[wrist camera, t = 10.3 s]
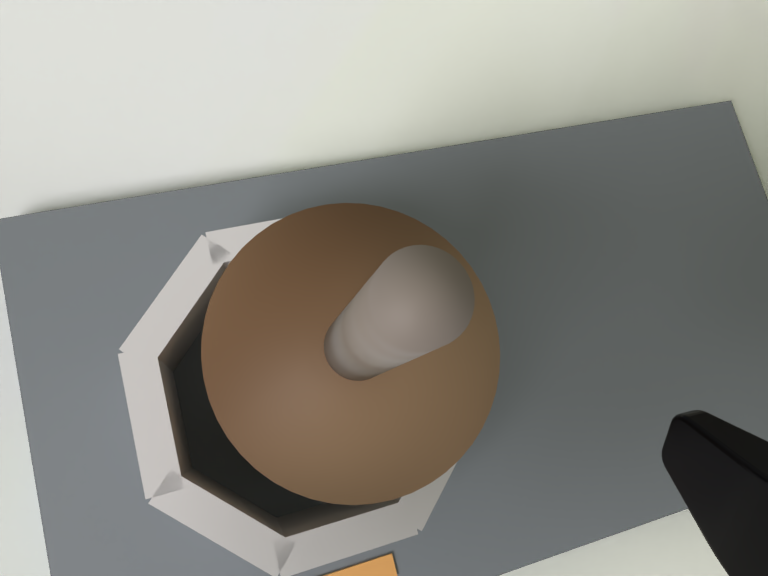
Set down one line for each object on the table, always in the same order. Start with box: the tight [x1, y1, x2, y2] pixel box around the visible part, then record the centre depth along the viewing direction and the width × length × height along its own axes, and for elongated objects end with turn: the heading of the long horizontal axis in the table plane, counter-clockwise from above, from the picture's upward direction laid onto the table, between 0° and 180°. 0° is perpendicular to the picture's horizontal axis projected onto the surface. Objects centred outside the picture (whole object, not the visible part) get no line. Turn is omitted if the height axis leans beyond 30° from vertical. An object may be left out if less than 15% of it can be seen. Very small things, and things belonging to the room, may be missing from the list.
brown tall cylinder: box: [201, 203, 500, 505], centre depth 12 cm, size 4×4×13 cm
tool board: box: [0, 101, 768, 576], centre depth 19 cm, size 25×13×4 cm, turn 105°
